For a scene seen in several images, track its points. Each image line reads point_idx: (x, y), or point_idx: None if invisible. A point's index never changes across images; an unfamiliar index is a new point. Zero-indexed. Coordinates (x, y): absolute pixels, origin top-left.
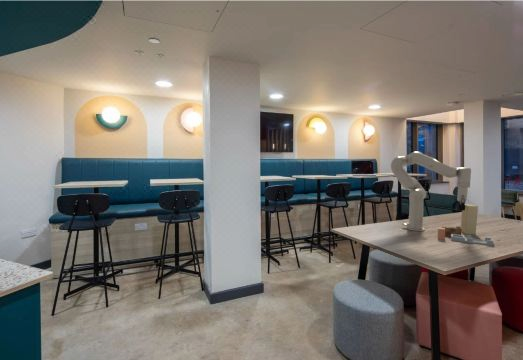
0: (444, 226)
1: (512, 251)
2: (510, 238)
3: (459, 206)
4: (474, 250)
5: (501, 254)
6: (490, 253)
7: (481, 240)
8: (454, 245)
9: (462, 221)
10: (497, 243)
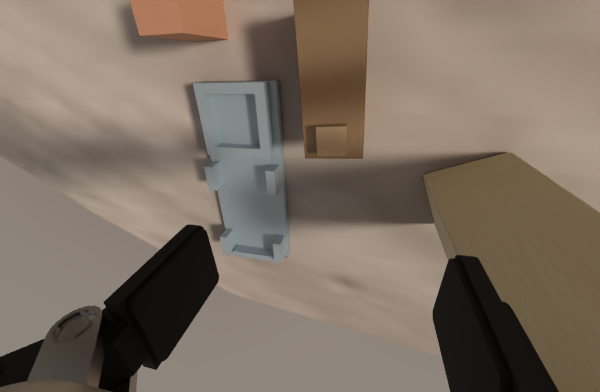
0: (333, 20)
1: None
2: (412, 330)
3: (152, 263)
4: (113, 169)
5: (139, 237)
6: (122, 211)
7: (266, 220)
8: (116, 97)
9: (533, 196)
10: (284, 265)
